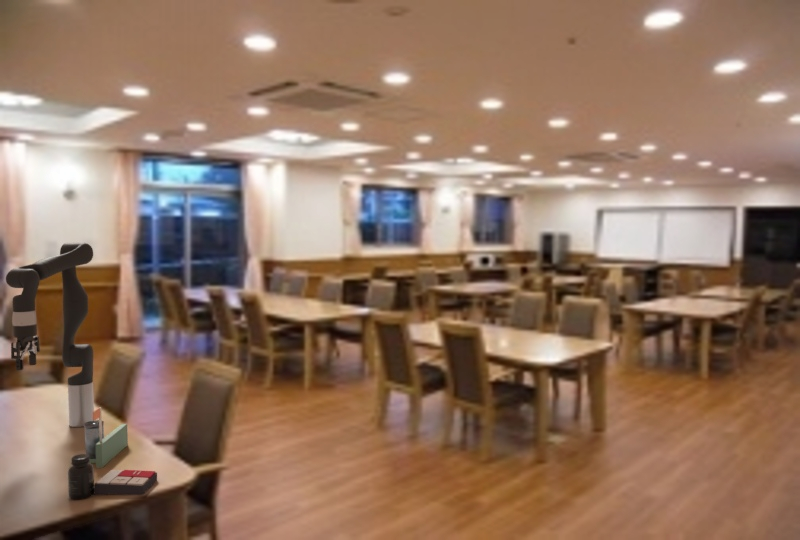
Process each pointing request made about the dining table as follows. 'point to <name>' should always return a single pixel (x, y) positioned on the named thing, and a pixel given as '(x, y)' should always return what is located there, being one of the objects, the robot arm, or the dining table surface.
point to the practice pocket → (109, 442)
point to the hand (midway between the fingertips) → (26, 367)
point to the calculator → (125, 482)
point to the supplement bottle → (81, 477)
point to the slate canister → (92, 437)
